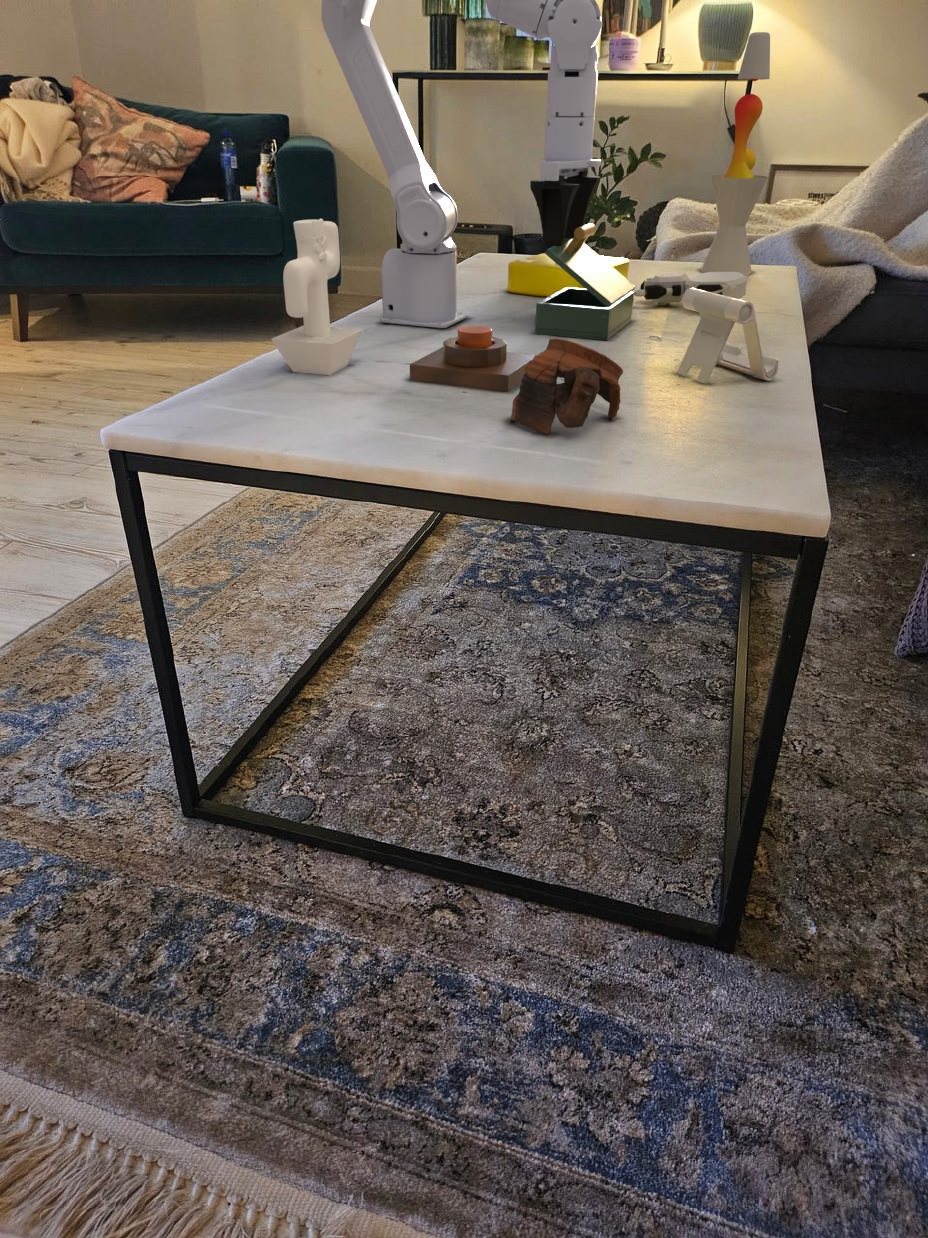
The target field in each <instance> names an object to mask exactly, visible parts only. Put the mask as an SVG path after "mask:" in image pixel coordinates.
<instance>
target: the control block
mask: <svg viewBox="0 0 928 1238" xmlns="http://www.w3.org/2000/svg"><path fill="white" fill-rule="evenodd" d="M442 344H443V345H442V347H440V348H438V349H436V350H434V351H432V352H431V353H429V354H426V355H425V356H423V357H421V358H419V359H418V360H415V361H413V362H412V363H410V364H409V381H413V382H420V383H429V384H437V385H445V386H454V387H462V388H470V389H479V390H486V391H487V390H488V391H494V392H495V391H497V392H504V393H509V392H510V391H512V390H513V389H515V387H518V385H521V383H522V382H521V380H522V378H523V376H524V374H525V373H526V371H525V367H526V366H527V365H528V363H529V361H530V360H532V359H533V358H534V357H535V356H536V355H537V354H536V355H535V354H527V353H526V354H525V353H517V352H509V351H507V347H508V346H507V345H508V344H507V342H506V341H505V340H504V339H502V338H499V337H496V336H495V337H494V336H492V345H491V346H486V347H464V346H460V345H458V336H454V337H449V338H447V339H445V340H444V341H443V342H442Z"/></svg>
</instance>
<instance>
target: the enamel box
mask: <svg viewBox="0 0 928 1238" xmlns="http://www.w3.org/2000/svg"><path fill="white" fill-rule="evenodd" d="M634 296H635V295H634V291H632V292H631V293H629V294H628V295H626V296H625V297H623V298H622V299H621V300H619V301H618V302H616V303H615V304H613V305H612V306H610V307H609V308H608V307H607V306H605V305H604V304H603V303H602V302H601V301H600V300H598V299H597V298H596V297H595V296H594V295H593V294H591V293H590V292H589V291H588V290H587V289H582V288H569V287H566V288H564V289H562V290H560V291H558V292H556V293H555V294H553V295H551V296H549V297H546V298H544V299H542V300H540V301H538V302H536V306H535V307H536V308H535V330H534V333H535V335H544V336H545V335H546V336H556V337H565V338H566V337H569V338H575V339H577V338H578V339H587V340H596V341H597V340H598V341H608V340H609V339H611V338H612V337H613V336H615V335H616V334H617V333H618V332H620V331H621V330H622V329H623V328H624V327H626V326H627V325H628V324H630V323H631V322H632V316H633V307H634V305H633V304H634Z"/></svg>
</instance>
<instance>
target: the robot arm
mask: <svg viewBox="0 0 928 1238" xmlns="http://www.w3.org/2000/svg"><path fill="white" fill-rule="evenodd" d="M377 1H378V0H321V5H320V6H321V7H320V8H321V11H320V12H321V13H320V14H321V16H320V18H321V23H322V26H323V29H324V32H325V34H326V37H327V39H328V42H329V44H330V46H331V48H332V50H333V53H334V55H335V57H336V60H337V62H338V64H339V66H340V69H341V71H342V73H343V76H344V78H345V80H346V83H347V85H348V87H349V89H350V92H351V94H352V96H353V98H354V101H355V103H356V105H357V108H358V110H359V112H360V114H361V118H362V119H363V121H364V124H365V126H366V128H367V130H368V133H369V135H370V138H371V140H372V142H373V144H374V147H375V149H376V152H377V155H378V156H379V158H380V160H381V163H382V165H383V168H384V170H385V173H386V175H387V177H388V179H389V186H390V187H389V188H390V196H391V197H390V198H391V200H392V202H393V204H394V207H395V211H396V228H397V232H398V235H399V236H400V238H401V240H402V241H403V242H402V243H400V248H390V249H388V250H387V251H386V252H385V254H384V255H383V258H382V262H381V270H380V271H381V272H380V277H381V280H380V282H381V303H382V317H381V318H380V323H385V324H393V325H394V324H395V325H403V326H405V325H406V326H415V327H426V328H435V329H446V328H448V327H450V326H453V325H454V324H456V323H458V322H461V321H463V320H465V319H467V318H468V317H469V315H468V313H463V312H457V311H458V310H457V303H458V302H457V300H458V299H457V296H458V295H457V289H458V288H457V285H458V284H457V281H458V280H457V279H458V278H457V274H458V273H457V272H458V271H457V267H458V266H457V265H458V264H457V262H458V261H457V259H458V257H457V244H455V242H454V241H453V239H452V237H451V235H453V233H454V231H455V229H456V228H457V225H458V221H459V213H458V208H457V205H456V202H455V201H454V199H453V198H452V196H450V195H449V194H448V193H447V192H446V191H445V190H443V188H442V187H441V185H440V183H439V180H438V179H437V176H436V174H435V173H434V172H433V170H432V168H431V167H430V165H429V164H428V163H427V161H426V159H425V156H424V154H423V151H422V149H421V147H420V145H419V142H418V140H417V137H416V134H415V133H414V130H413V127H412V125H411V122H410V120H409V118H408V116H407V113H406V111H405V109H404V106H403V103H402V101H401V99H400V96H399V94H398V92H397V89H396V87H395V84H394V82H393V79H392V77H391V75H390V73H389V70H388V67H387V65H386V63H385V59H384V58H383V56H382V53H381V51H380V48H379V45H378V44H377V41H376V38H375V35H374V34H373V31H372V29H371V27H370V22H371V19H372V16H373V13H374V11H375V7H376V5H377ZM484 2H485V5H486V9H487V12H488V14H489V16H490V17H491V18H493V19H495V20H496V21H497V20H498V21H499V22H501V23H503V24H506V25H508V26H510V27H512V28H514V29H516V30H518V31H521V33H524V34H526V35H528V36H531V37H533V38H535V39H537V40H538V41H539V40H540V41H541V40H544V39H545V38H550V41H551V43H552V45H551V49H550V68H549V69H548V72H547V88H546V107H545V108H546V109H545V110H546V111H545V116H546V117H545V126H544V127H545V128H544V129H545V130H544V149H543V150H544V152H543V158H542V160H541V162H540V175H539V179H533V180H530V182H529V184H530V185H529V186H530V191H531V193H532V195H533V197H534V200H535V203H536V206H537V209H538V213H539V219H540V224H541V225H540V226H541V231H542V238H543V243H544V246H548V247H549V246H550V247H554V246H562V245H563V242H565V239H570V240H571V239H573V238H574V231H575V229H576V228H579V227H581V226H584V225H585V223H586V218H587V214H588V212H589V211H588V210H589V207H590V205H591V201H592V200H593V196H594V194H595V193H596V191H597V189H598V187H599V185H600V183H601V176H599V175H590V174H591V173H592V168H598V167H601V166H602V159H593V145H594V132H595V116H596V104H597V103H596V102H597V92H598V91H597V90H598V77H599V71H598V69H597V65H598V62H599V51H598V46H597V45H596V43H598V40H599V37H600V35H601V32H602V27H603V21H602V19H603V18H602V13H601V10H600V7H599V4H598V2H597V1H596V0H484Z"/></svg>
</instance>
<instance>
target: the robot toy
mask: <svg viewBox="0 0 928 1238" xmlns="http://www.w3.org/2000/svg"><path fill="white" fill-rule="evenodd" d="M749 275H751V274H750V273H745V274H742V273H739V272H706V273H704V272H700V273H697V274H694V275H691V276H688V275H687V273H685V272H663V273H658V274H655V275H654V276H653V277H648V278H646V279H645V280H643V282H642V283H641V284H640V287H639V289H634V290H633V292H634V296H635V297H640V298H641V297H643V298H644V299H645V300H646V301H649V300H652V301H653V302H654V303H656V304H657V305H658V306H668V303H680V302H682V297H683V294H684V292H685V291H686V290H687V289H689V288H695V289H699V290H703V291H707V292H711V293H715V294H719V295H723V296H727V297H731V298H735V299H740V300H742V299H743V297H745V296H746V294H747V283H748V282H747V281H748V280H747V277H748V276H749Z"/></svg>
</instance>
